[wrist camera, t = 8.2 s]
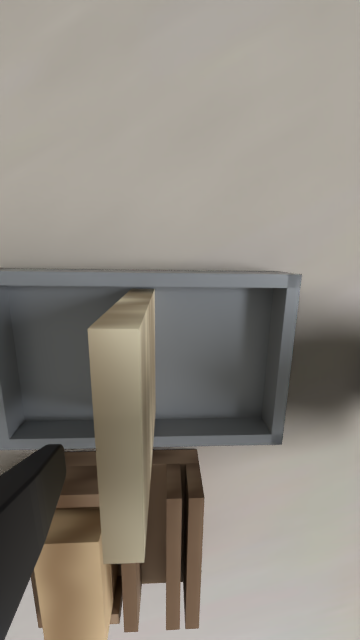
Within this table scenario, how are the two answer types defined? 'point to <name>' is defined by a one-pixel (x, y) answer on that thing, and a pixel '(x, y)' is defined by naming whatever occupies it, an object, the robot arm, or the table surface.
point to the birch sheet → (124, 421)
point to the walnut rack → (152, 534)
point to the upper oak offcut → (74, 578)
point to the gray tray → (170, 354)
